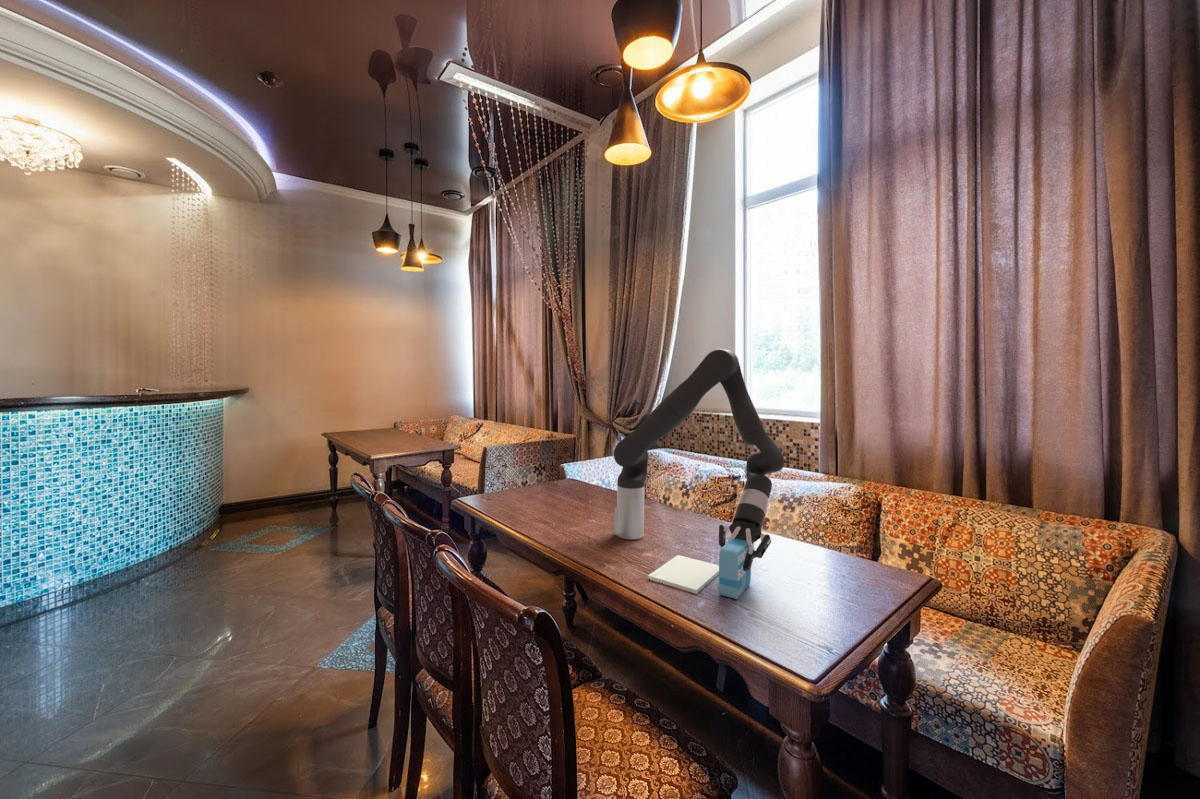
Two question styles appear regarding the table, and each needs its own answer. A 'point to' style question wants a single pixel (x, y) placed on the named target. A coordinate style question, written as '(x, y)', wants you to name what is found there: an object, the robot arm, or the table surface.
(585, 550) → the table surface
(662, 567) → the cream mat
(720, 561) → the data package
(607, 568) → the table surface
